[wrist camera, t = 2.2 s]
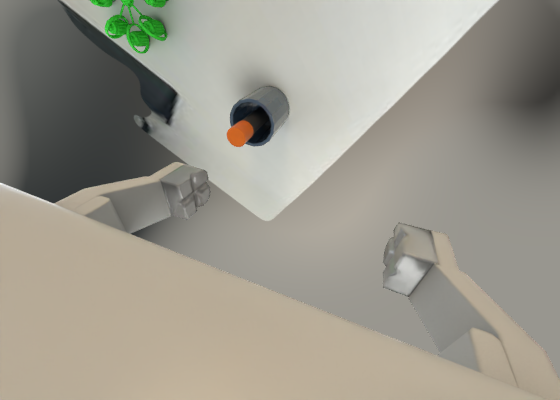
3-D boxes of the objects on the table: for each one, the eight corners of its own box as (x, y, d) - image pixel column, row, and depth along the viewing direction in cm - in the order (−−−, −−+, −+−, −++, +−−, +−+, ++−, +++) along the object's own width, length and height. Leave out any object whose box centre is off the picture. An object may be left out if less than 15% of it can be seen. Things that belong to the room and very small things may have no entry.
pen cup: (245, 113, 44) (223, 129, 37) (261, 77, 39) (240, 88, 33) (277, 134, 45) (261, 154, 38) (296, 102, 40) (282, 118, 33)
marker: (259, 110, 42) (224, 139, 32) (265, 97, 41) (230, 123, 30) (271, 119, 43) (240, 150, 32) (278, 106, 41) (248, 135, 30)
